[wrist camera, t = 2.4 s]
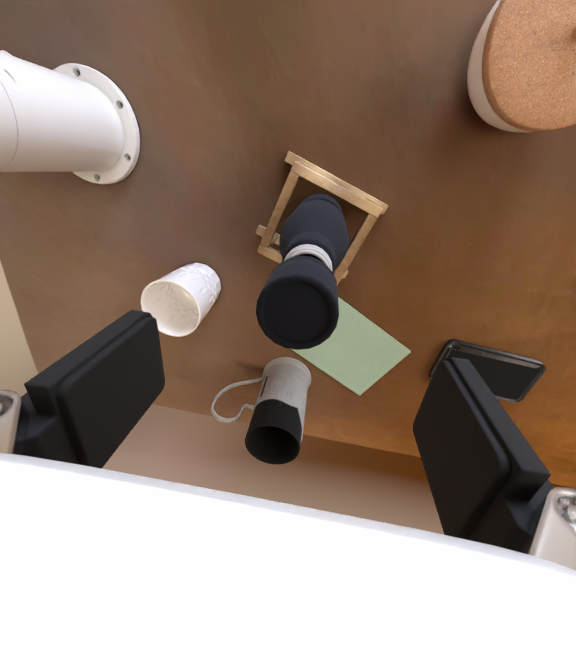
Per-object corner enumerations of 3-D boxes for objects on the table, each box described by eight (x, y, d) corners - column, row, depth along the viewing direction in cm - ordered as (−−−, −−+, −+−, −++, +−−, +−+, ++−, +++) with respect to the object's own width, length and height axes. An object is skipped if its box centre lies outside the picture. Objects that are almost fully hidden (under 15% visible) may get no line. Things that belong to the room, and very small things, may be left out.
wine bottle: (341, 243, 41) (361, 375, 15) (295, 243, 42) (236, 369, 15) (344, 192, 38) (376, 244, 12) (294, 193, 39) (219, 244, 12)
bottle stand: (256, 232, 42) (238, 247, 34) (289, 151, 37) (277, 146, 28) (344, 276, 43) (347, 301, 35) (387, 204, 38) (402, 214, 30)
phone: (451, 341, 44) (549, 366, 44) (448, 338, 45) (544, 362, 45) (428, 381, 48) (518, 404, 48) (426, 377, 49) (515, 399, 49)
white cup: (227, 265, 45) (202, 288, 36) (222, 311, 48) (198, 342, 40) (176, 253, 45) (139, 273, 36) (175, 300, 48) (141, 328, 40)
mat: (266, 331, 49) (266, 332, 49) (311, 276, 44) (310, 277, 43) (359, 394, 53) (359, 395, 52) (410, 350, 47) (411, 351, 47)
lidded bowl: (573, 122, 32) (678, 102, 22) (446, 152, 35) (491, 145, 25) (603, -44, 26) (760, -167, 17) (449, 7, 29) (509, -75, 19)
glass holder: (301, 402, 55) (292, 474, 42) (229, 376, 55) (196, 442, 42) (318, 367, 51) (314, 435, 38) (240, 339, 50) (208, 398, 37)
